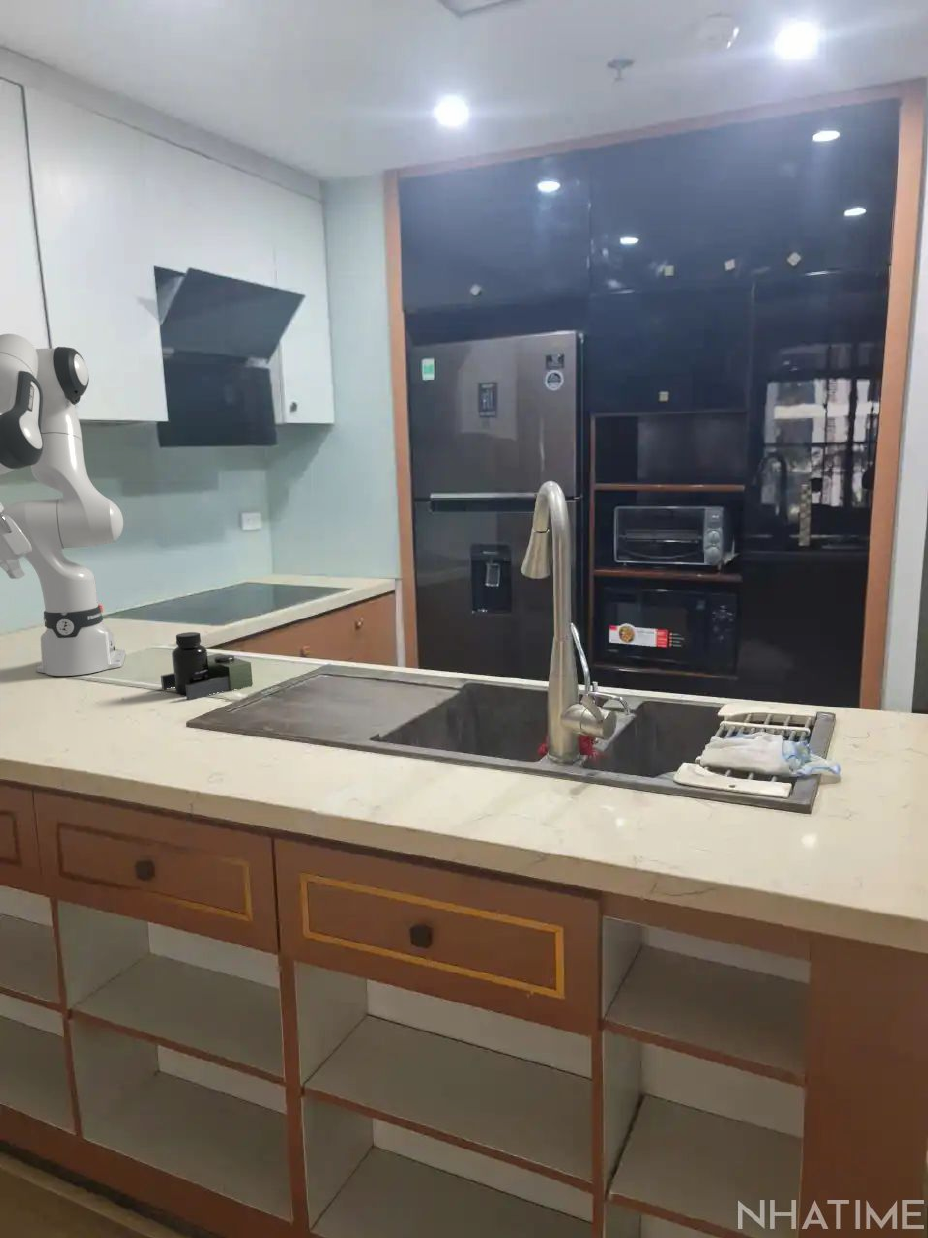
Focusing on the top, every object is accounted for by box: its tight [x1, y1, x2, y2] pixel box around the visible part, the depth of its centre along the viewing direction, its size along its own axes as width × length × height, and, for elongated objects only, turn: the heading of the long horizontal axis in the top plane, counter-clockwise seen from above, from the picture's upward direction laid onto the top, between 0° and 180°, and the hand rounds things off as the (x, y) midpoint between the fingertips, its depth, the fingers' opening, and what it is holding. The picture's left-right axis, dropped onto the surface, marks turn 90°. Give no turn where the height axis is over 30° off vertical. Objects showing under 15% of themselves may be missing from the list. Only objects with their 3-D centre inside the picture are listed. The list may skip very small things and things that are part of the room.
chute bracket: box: [160, 653, 254, 701], centre depth 183 cm, size 14×13×6 cm
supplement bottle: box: [171, 631, 209, 696], centre depth 180 cm, size 7×7×12 cm
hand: (18, 577), depth 164 cm, fingers closed
